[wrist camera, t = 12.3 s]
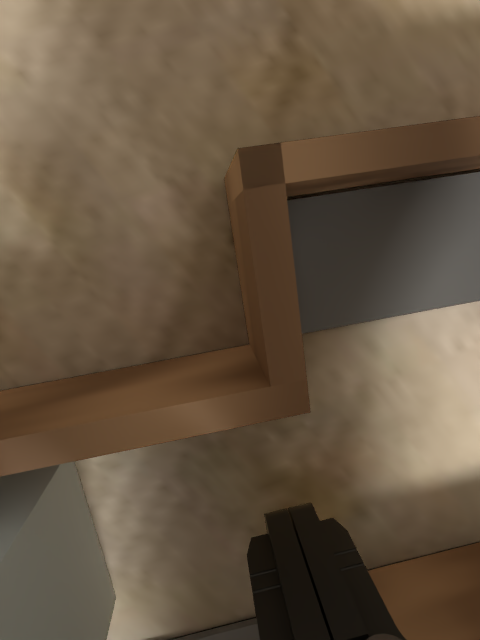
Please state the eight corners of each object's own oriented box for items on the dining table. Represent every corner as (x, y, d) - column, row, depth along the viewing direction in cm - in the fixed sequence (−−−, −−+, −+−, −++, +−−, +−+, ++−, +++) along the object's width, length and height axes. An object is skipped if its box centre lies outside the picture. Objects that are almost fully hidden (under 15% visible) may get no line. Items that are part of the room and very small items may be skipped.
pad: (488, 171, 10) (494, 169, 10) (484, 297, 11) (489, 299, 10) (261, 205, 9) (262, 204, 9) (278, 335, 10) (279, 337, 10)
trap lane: (674, 114, 10) (971, 36, 6) (598, 608, 15) (737, 735, 11) (-327, 256, 8) (-844, 272, 4) (-28, 784, 13) (-126, 1022, 9)
